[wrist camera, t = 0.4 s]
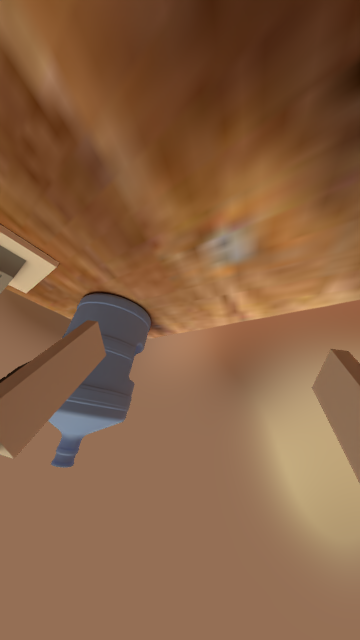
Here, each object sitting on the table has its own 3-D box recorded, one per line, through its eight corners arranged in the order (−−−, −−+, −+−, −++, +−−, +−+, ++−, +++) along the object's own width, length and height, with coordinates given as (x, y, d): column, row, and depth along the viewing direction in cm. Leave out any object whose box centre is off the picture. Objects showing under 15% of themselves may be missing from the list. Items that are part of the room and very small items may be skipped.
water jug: (69, 302, 42) (-9, 452, 29) (106, 281, 32) (14, 489, 19) (125, 331, 52) (85, 452, 39) (165, 321, 42) (132, 476, 29)
